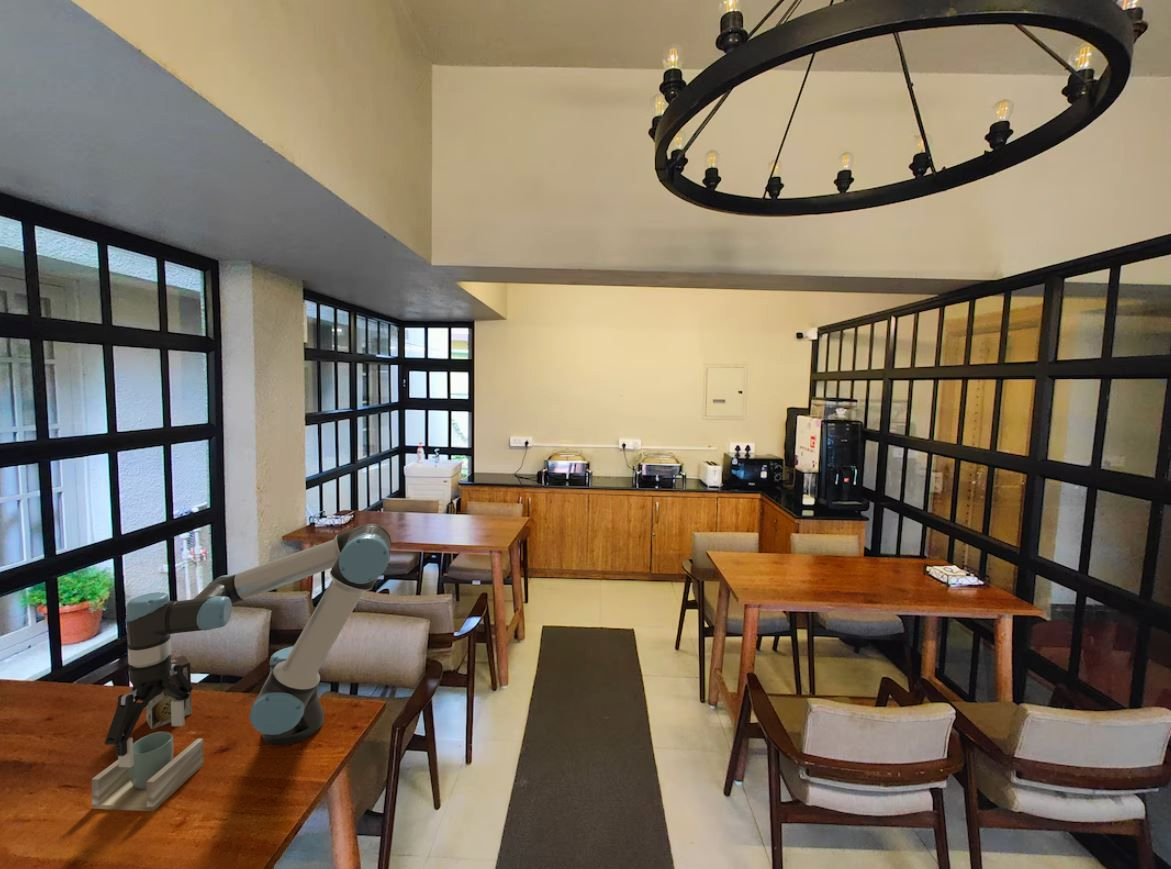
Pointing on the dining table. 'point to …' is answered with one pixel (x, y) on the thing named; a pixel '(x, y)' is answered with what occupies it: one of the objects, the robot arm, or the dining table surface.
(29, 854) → the dining table surface
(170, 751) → the cup
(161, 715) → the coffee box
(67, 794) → the dining table surface
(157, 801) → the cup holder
